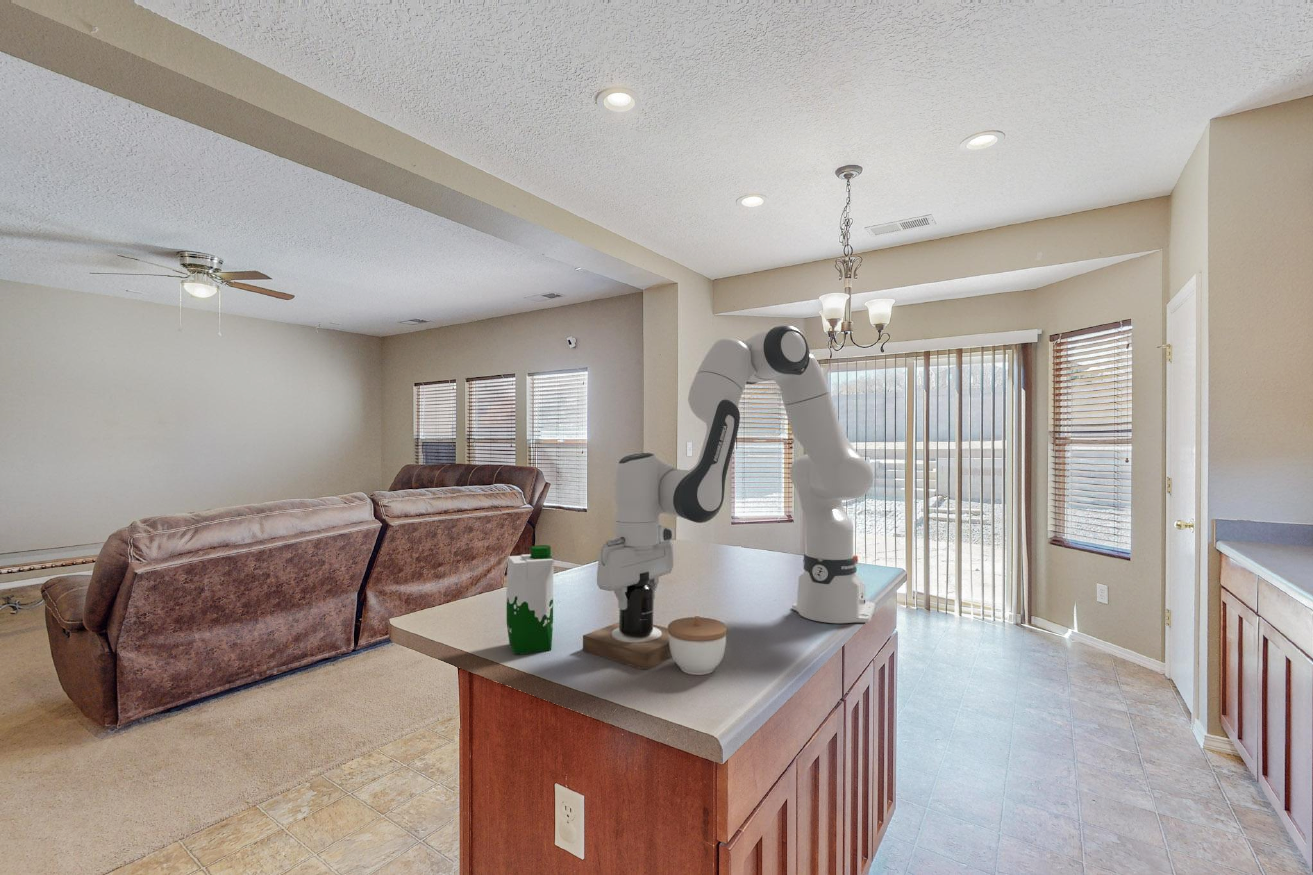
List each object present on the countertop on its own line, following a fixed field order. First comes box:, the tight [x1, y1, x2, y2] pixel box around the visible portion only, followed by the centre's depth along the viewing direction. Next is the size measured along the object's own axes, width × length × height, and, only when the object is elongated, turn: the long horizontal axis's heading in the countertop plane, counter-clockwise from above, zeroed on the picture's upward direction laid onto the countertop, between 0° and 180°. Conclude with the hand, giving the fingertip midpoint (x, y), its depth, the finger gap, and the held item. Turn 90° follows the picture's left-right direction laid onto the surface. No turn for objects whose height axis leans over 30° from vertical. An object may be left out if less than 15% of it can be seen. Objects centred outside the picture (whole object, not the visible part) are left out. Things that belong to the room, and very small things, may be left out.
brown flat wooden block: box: [582, 621, 673, 671], centre depth 113 cm, size 14×16×3 cm
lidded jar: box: [667, 615, 728, 676], centre depth 103 cm, size 11×11×9 cm
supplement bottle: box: [618, 572, 655, 637], centre depth 113 cm, size 7×7×12 cm
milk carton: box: [506, 544, 555, 656], centre depth 115 cm, size 9×9×20 cm
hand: (637, 604), depth 113 cm, fingers closed on supplement bottle, 6 cm apart
